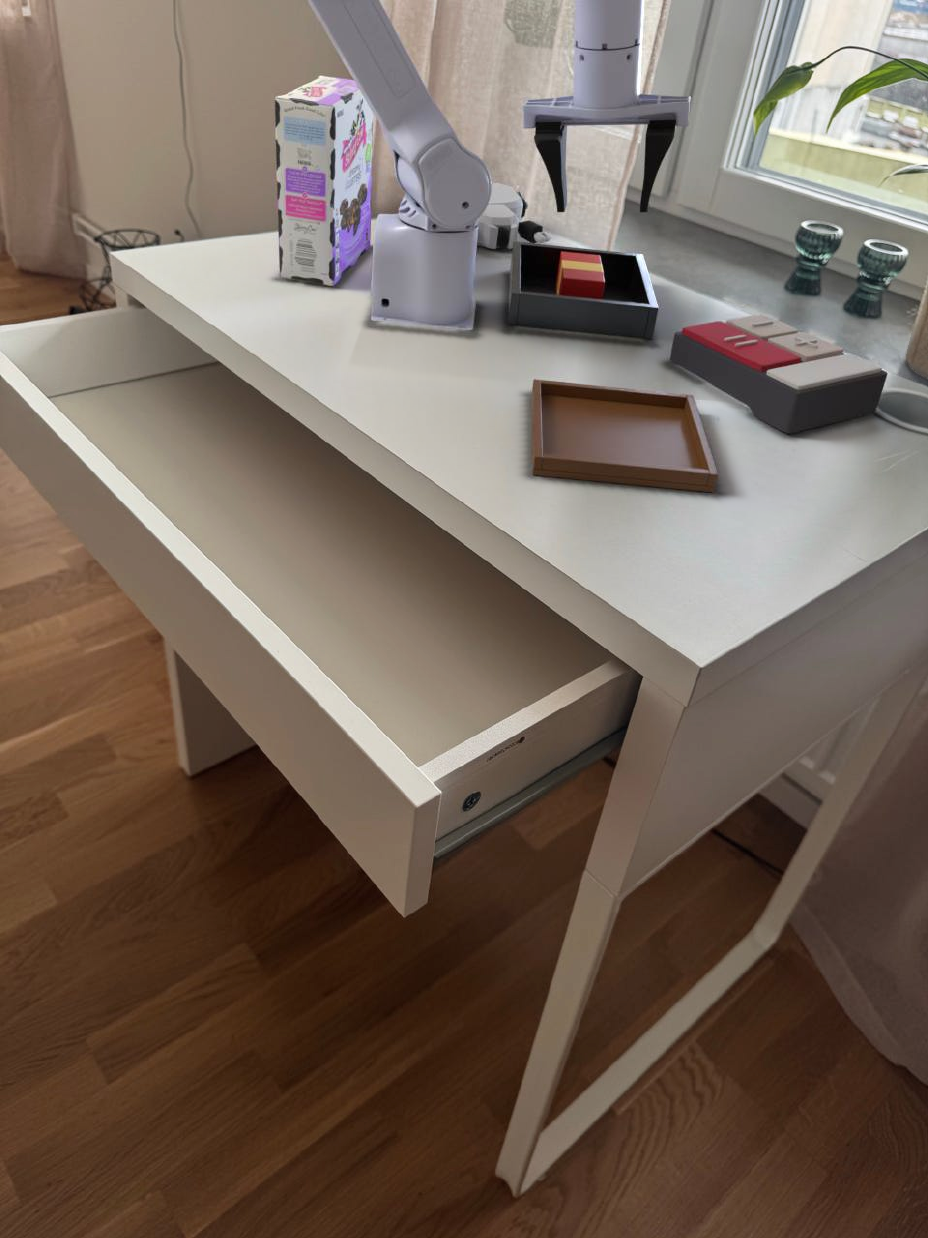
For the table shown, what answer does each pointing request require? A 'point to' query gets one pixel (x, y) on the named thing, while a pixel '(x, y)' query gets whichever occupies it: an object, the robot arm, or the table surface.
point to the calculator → (780, 371)
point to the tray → (619, 436)
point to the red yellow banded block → (580, 276)
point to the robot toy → (507, 220)
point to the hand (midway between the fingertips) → (602, 208)
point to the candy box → (323, 179)
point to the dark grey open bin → (615, 314)
